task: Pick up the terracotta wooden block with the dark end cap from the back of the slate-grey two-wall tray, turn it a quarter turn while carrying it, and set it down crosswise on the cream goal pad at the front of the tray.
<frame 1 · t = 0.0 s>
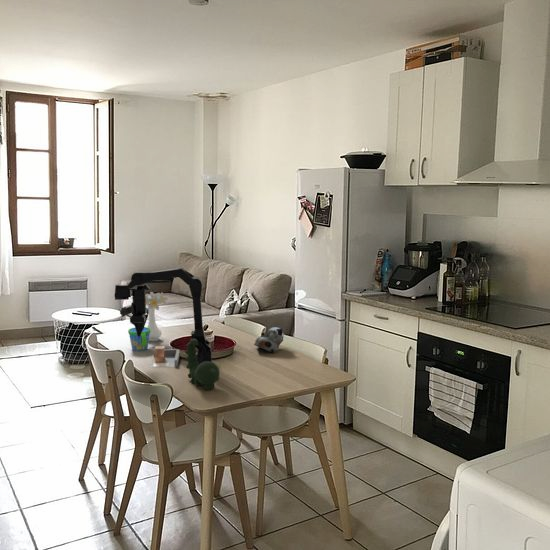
hand: (140, 333, 276), 15 cm above the table, tool pointing down, fingers open, 9 cm apart
flower vase: (151, 340, 321), on the table
two-wall tray: (165, 361, 283), on the table
toy figurine: (202, 385, 253), on the table
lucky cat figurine: (268, 350, 303), on the table
snack cup: (139, 350, 304), on the table
terracotta block: (159, 360, 284), resting on two-wall tray
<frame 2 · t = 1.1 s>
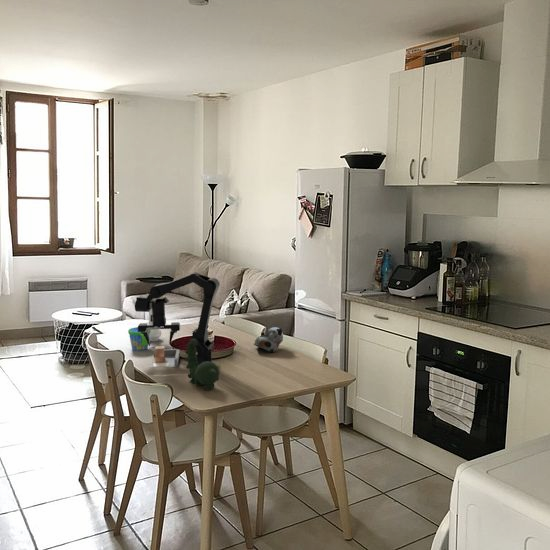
hand: (159, 345, 283), 8 cm above the table, tool pointing down, fingers open, 9 cm apart
nothing on the table moved.
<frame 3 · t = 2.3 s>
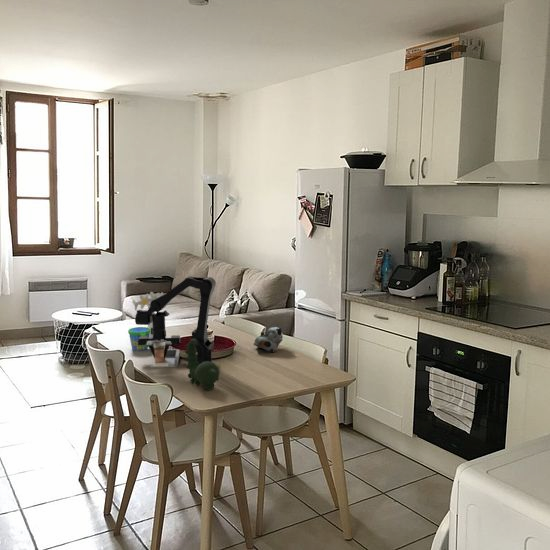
hand: (159, 358, 284), 2 cm above the table, tool pointing down, fingers closed on terracotta block, 4 cm apart
terracotta block: (159, 360, 284), resting on two-wall tray, touching gripper
everything else where it was.
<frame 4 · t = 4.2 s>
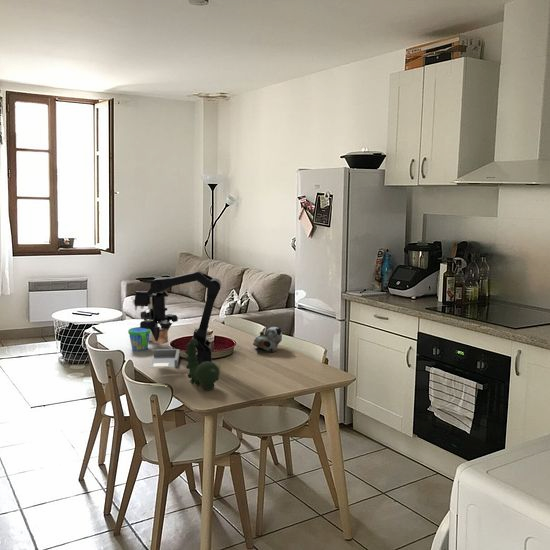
hand: (159, 339, 279), 11 cm above the table, tool pointing down, fingers closed on terracotta block, 4 cm apart
terracotta block: (159, 342, 279), point 10 cm above the table, touching gripper
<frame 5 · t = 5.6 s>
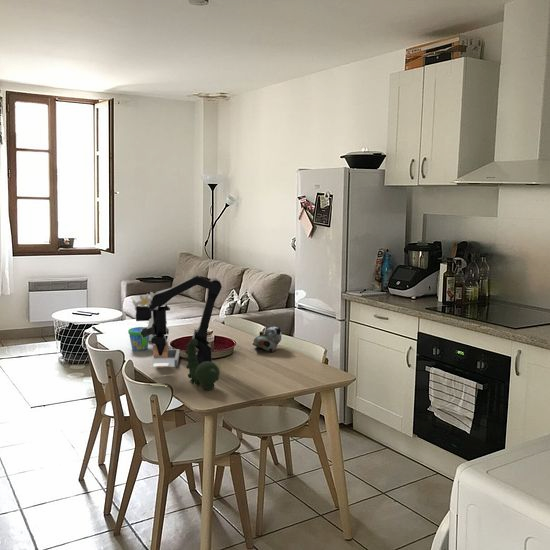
hand: (160, 354, 277), 5 cm above the table, tool pointing down, fingers closed on terracotta block, 4 cm apart
terracotta block: (160, 356, 277), point 4 cm above the table, touching gripper
when the fingers open (3 cm above the table, at t = 6.4 s): terracotta block drops 1 cm, resting on two-wall tray.
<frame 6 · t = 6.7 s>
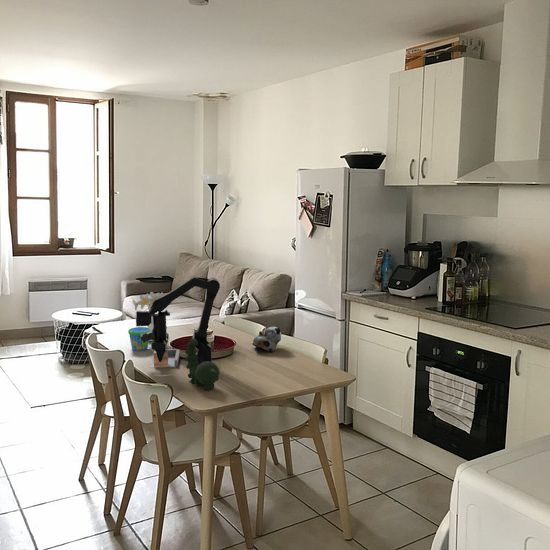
hand: (160, 359, 277), 3 cm above the table, tool pointing down, fingers open, 7 cm apart
terracotta block: (161, 364, 278), resting on two-wall tray
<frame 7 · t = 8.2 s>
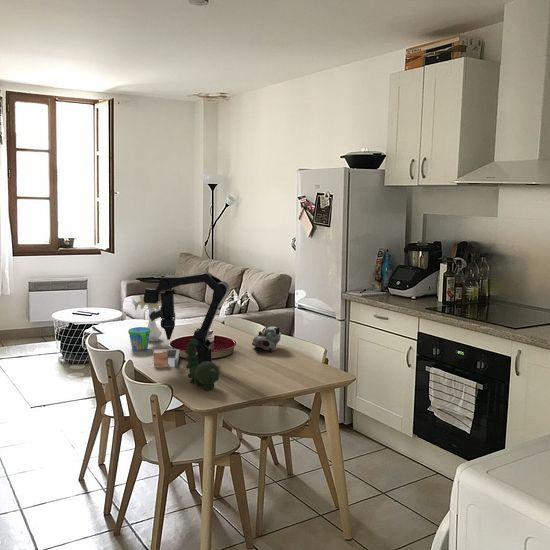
hand: (168, 337, 281), 12 cm above the table, tool pointing down, fingers open, 9 cm apart
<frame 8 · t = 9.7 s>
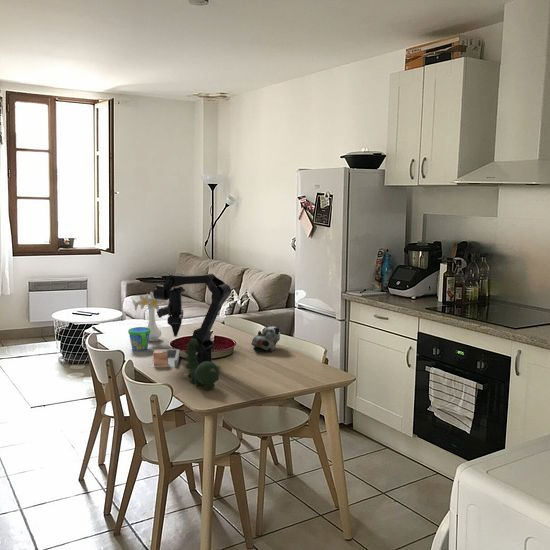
hand: (176, 334, 286), 12 cm above the table, tool pointing down, fingers open, 9 cm apart
at the end: terracotta block 0.0 cm from the target spot, point 0.5 cm above the table; terracotta block tilted 0°; the gripper is holding nothing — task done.
